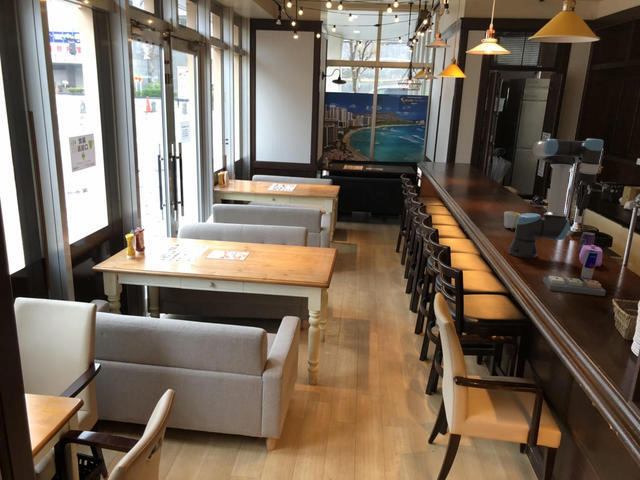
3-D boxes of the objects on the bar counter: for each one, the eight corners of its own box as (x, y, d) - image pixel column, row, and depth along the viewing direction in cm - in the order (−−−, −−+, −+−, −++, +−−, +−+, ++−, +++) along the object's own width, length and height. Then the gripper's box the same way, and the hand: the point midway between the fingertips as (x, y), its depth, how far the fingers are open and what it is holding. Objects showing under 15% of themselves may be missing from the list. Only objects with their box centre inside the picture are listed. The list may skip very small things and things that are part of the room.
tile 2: (565, 283, 244) (566, 277, 243) (577, 284, 243) (579, 278, 243) (568, 287, 239) (570, 281, 238) (581, 289, 238) (582, 282, 237)
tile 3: (582, 285, 243) (584, 279, 242) (595, 286, 242) (596, 280, 241) (587, 289, 238) (588, 283, 237) (599, 291, 237) (601, 284, 236)
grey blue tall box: (588, 282, 252) (594, 252, 248) (578, 278, 256) (584, 250, 252) (593, 280, 255) (600, 251, 251) (583, 277, 259) (589, 248, 255)
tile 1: (547, 281, 245) (548, 275, 244) (559, 283, 244) (561, 276, 244) (550, 285, 240) (552, 279, 239) (563, 287, 239) (564, 280, 238)
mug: (502, 228, 349) (505, 213, 346) (501, 225, 358) (503, 210, 355) (523, 231, 346) (526, 216, 343) (521, 227, 356) (524, 212, 353)
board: (542, 281, 249) (543, 276, 248) (595, 286, 246) (596, 282, 245) (549, 290, 237) (550, 285, 237) (604, 296, 234) (605, 291, 233)
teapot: (576, 256, 294) (579, 239, 291) (596, 259, 291) (600, 242, 288) (581, 266, 277) (585, 247, 274) (603, 269, 274) (607, 250, 272)
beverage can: (576, 250, 307) (580, 231, 303) (589, 252, 305) (593, 232, 302) (579, 254, 300) (584, 234, 297) (593, 255, 299) (597, 235, 295)
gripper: (575, 170, 244) (565, 218, 251) (584, 174, 232) (573, 224, 238) (591, 171, 243) (581, 220, 250) (601, 175, 231) (590, 226, 237)
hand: (577, 222), depth 244 cm, fingers closed
